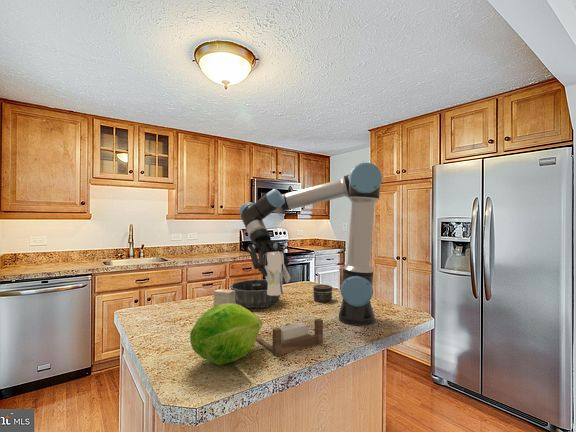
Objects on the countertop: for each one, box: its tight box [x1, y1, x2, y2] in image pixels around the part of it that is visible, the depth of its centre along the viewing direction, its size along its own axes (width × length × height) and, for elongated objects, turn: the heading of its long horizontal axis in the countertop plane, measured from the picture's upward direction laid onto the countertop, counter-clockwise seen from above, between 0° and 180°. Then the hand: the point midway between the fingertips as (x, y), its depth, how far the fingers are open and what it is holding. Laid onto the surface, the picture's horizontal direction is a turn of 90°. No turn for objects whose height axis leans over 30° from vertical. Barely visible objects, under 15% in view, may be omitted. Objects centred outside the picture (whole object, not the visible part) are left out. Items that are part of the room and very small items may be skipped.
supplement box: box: [213, 288, 236, 307], centre depth 133 cm, size 8×5×13 cm, turn 65°
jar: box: [312, 284, 333, 304], centre depth 166 cm, size 10×10×8 cm
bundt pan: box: [229, 278, 281, 309], centre depth 160 cm, size 26×26×10 cm
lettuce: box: [189, 303, 263, 366], centre depth 97 cm, size 19×25×17 cm
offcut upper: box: [278, 321, 308, 340], centre depth 106 cm, size 4×10×3 cm, turn 125°
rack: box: [256, 318, 324, 357], centre depth 111 cm, size 21×18×9 cm
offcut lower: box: [281, 331, 311, 343], centre depth 106 cm, size 4×12×3 cm, turn 122°
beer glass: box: [264, 252, 284, 296], centre depth 114 cm, size 7×7×15 cm
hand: (279, 281), depth 111 cm, fingers closed on beer glass, 7 cm apart
